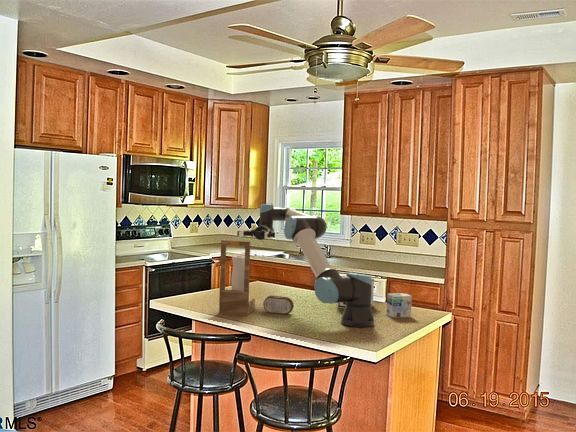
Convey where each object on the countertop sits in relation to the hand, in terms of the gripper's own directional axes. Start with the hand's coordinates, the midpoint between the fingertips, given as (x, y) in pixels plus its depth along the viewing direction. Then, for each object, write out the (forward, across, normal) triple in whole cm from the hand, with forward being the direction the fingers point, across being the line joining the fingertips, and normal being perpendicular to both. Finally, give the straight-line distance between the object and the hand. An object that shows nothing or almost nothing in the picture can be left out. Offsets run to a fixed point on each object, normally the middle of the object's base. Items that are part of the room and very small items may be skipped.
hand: (252, 235), depth 281 cm
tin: (+9, -16, -38) cm, 42 cm away
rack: (+12, +4, -37) cm, 39 cm away
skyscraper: (+11, +3, -36) cm, 38 cm away
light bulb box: (-6, -74, -38) cm, 84 cm away
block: (-20, -52, -38) cm, 67 cm away
